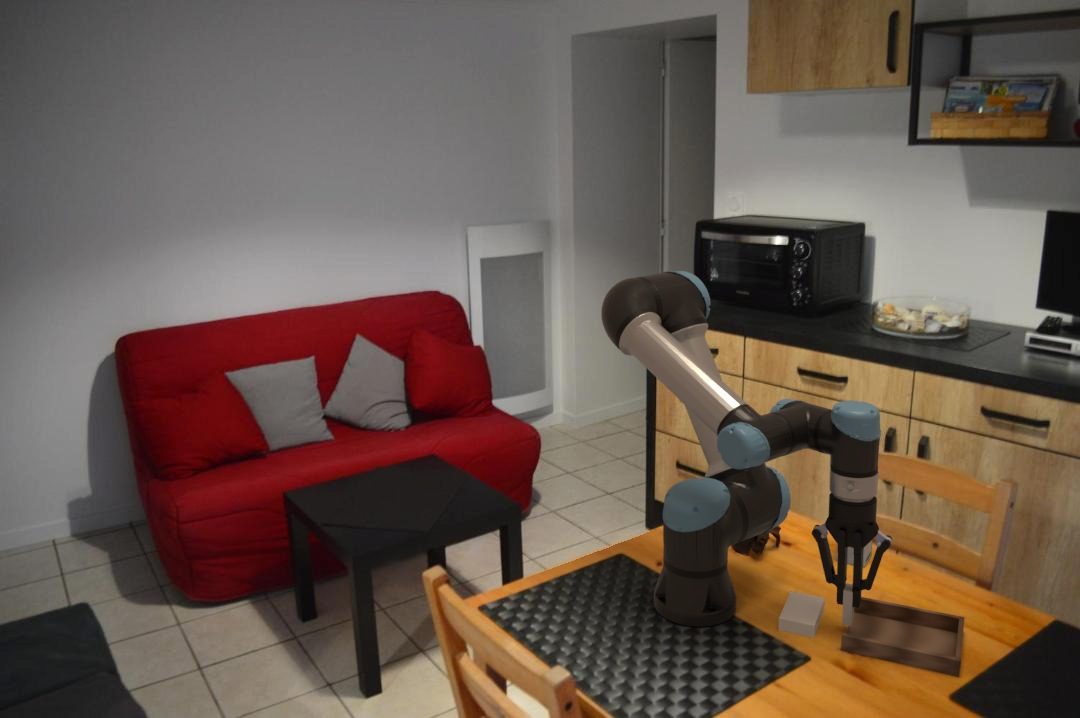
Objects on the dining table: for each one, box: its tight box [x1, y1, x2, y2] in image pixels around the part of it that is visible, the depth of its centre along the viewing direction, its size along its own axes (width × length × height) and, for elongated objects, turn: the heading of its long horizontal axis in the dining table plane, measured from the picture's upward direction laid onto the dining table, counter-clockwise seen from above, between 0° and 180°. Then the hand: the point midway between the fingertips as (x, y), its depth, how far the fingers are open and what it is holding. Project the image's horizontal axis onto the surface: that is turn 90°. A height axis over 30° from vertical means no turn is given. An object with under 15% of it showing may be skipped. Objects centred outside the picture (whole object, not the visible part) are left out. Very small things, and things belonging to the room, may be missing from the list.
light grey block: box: [778, 591, 826, 639], centre depth 158 cm, size 6×10×3 cm, turn 153°
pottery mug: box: [731, 525, 782, 556], centre depth 187 cm, size 12×10×8 cm
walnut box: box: [840, 596, 965, 678], centre depth 151 cm, size 18×14×4 cm
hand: (847, 621), depth 154 cm, fingers closed
